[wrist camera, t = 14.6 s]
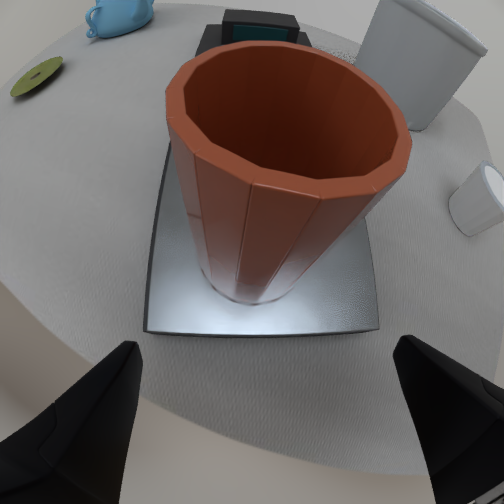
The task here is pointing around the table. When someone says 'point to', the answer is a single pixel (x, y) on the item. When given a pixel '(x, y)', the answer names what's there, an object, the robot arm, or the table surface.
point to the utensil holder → (418, 57)
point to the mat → (36, 76)
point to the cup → (278, 159)
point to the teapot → (118, 17)
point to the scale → (215, 302)
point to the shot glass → (479, 200)
